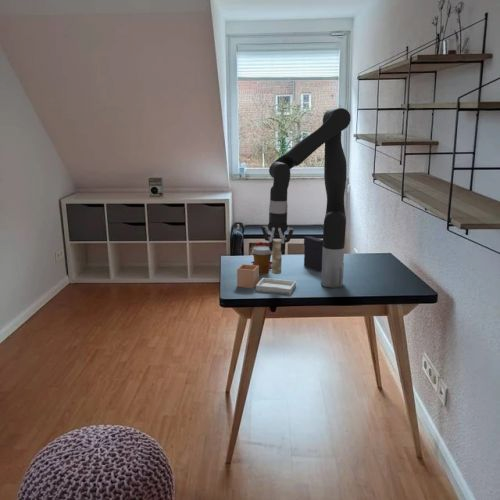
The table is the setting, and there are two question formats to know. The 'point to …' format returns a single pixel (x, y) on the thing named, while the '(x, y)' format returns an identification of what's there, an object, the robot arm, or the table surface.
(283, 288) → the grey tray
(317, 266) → the calculator
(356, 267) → the table surface
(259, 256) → the disposable coffee cup
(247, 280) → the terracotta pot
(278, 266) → the maple peg
